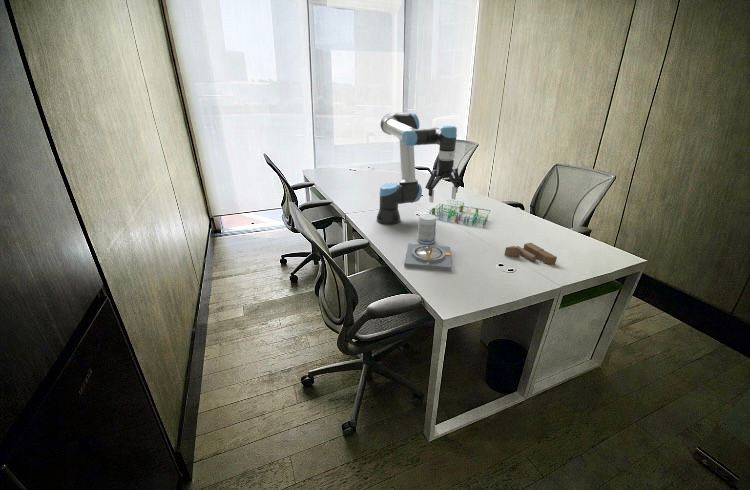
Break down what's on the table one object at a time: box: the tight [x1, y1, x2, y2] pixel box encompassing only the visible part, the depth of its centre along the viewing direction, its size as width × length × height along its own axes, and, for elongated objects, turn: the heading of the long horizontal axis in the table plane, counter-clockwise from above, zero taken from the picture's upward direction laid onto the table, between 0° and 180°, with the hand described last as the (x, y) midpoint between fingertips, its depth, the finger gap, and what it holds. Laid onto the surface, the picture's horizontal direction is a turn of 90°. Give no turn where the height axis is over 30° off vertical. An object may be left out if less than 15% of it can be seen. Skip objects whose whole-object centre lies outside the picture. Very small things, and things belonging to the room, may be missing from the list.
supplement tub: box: [417, 213, 437, 245], centre depth 182 cm, size 10×10×15 cm
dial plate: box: [403, 243, 452, 272], centre depth 166 cm, size 22×22×3 cm
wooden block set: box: [504, 242, 558, 265], centre depth 166 cm, size 17×6×18 cm
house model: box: [428, 199, 491, 228], centre depth 221 cm, size 35×30×5 cm
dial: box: [416, 244, 441, 260], centre depth 163 cm, size 15×12×6 cm
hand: (442, 200), depth 173 cm, fingers open, 13 cm apart
